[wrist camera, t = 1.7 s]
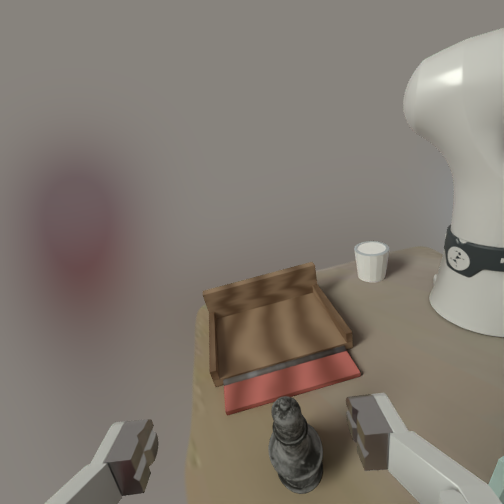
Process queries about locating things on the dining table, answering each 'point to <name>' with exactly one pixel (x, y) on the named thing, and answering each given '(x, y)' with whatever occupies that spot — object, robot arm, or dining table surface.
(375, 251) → the white tapered cup
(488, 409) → the dining table surface
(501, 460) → the l-shaped corner panel
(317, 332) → the tray
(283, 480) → the stone chess piece
